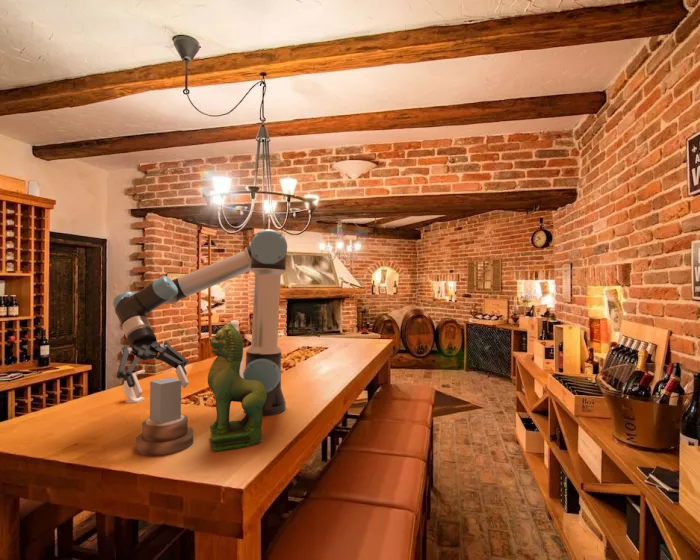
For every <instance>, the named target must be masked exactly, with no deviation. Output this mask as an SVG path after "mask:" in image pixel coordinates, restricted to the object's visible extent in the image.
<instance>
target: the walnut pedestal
mask: <svg viewBox="0 0 700 560" xmlns="http://www.w3.org/2000/svg"><path fill="white" fill-rule="evenodd" d="M193 443H194V429H193V428H192V427H191V426H189V416H188V415H186V414H182V413H181V418H180V419H177V420H173V421H170V422H166V423H162V424H159V423H157V422H154V421H152V420H150V417H149V418H146V419H145V420H143V421H142V422H141V432H140V433H138V435H137V436H136V437H135V452H136V453H137V454H138V455H141V456H145V457H146V456H147V457H159V456H166V455H173V454H175V453H178V452H181V451H184V450H185V449H188V448H189V447H190V446H192V444H193Z"/></svg>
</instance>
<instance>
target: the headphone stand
mask: <svg viewBox="0 0 700 560" xmlns="http://www.w3.org/2000/svg"><path fill="white" fill-rule="evenodd" d="M145 372H146V369H141V370H138V371H135V372H134V373H135V374H136V376H138V375H139V374H140V375H141V374H143V373H145ZM122 386H123V388H122V389H123V392H124V395H125V397H126V398H127V399H125V403H127V404H128V403H131V404H138V403H141V402H143V401H145V400H146V399H145V397H143V396H140V397H139V398H136V396H135V393H134V391H133V388H132V387H129V386H128V384H127V381H125V380H123V385H122Z"/></svg>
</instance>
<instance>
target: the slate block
mask: <svg viewBox="0 0 700 560" xmlns="http://www.w3.org/2000/svg"><path fill="white" fill-rule="evenodd" d="M149 384H150V385H149V386H150V387H149V391H150V392H149V418H150V420H152V421H154V422H157V423H159V424H162V423H166V422H170V421H173V420H177V419H180V418H181V414H182V385H181V380H179V378H174V377H165V378H161V379H154V380H150V381H149Z"/></svg>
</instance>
